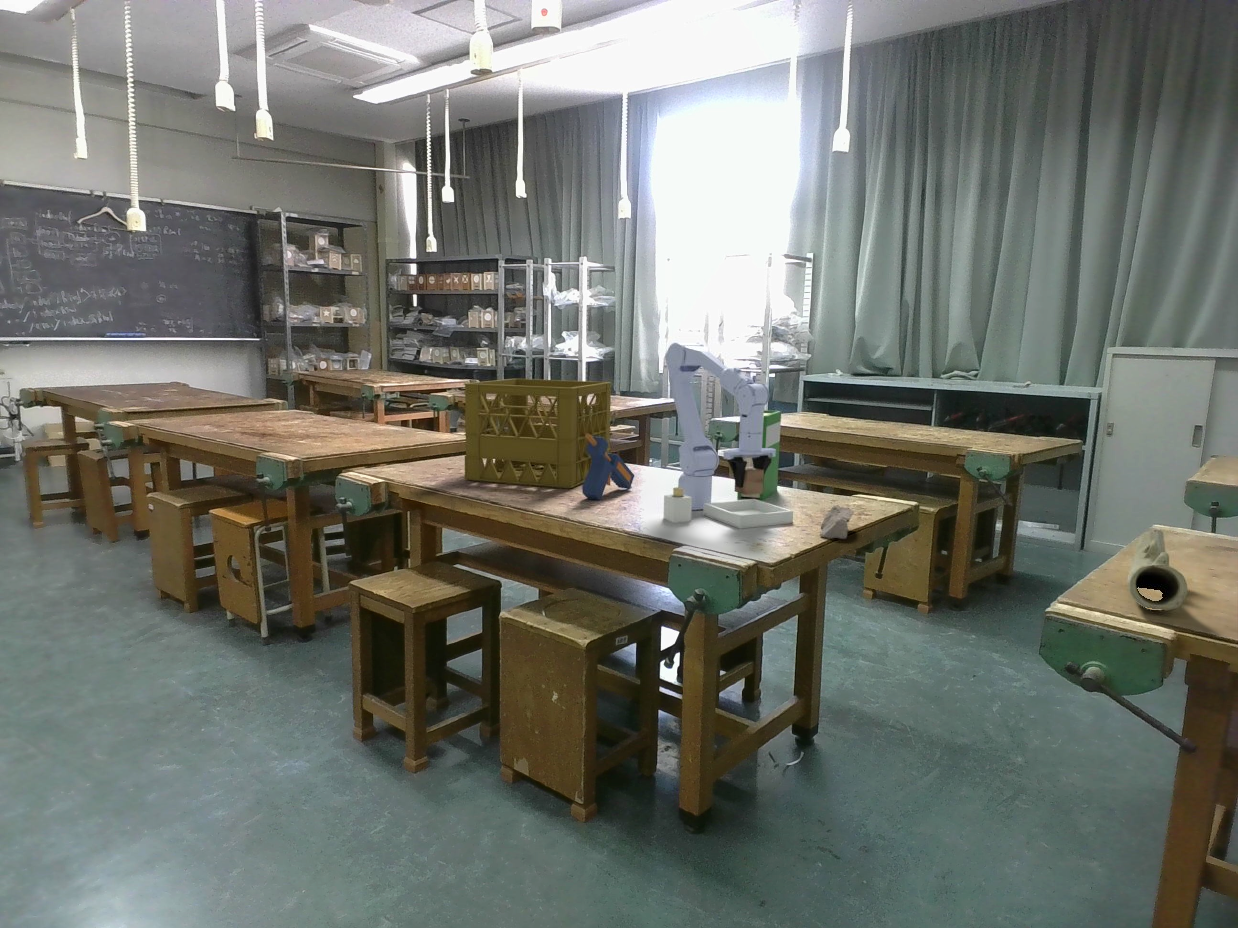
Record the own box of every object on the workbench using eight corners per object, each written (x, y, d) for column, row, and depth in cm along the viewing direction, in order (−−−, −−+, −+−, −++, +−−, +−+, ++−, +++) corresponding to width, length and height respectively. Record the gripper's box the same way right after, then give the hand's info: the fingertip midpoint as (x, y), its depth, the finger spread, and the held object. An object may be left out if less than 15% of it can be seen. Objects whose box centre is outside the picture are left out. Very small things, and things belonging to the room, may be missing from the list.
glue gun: (623, 525, 233) (639, 481, 238) (586, 478, 207) (604, 429, 213) (605, 522, 235) (621, 478, 241) (566, 475, 210) (585, 427, 216)
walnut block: (734, 491, 200) (735, 467, 199) (750, 489, 202) (751, 466, 201) (746, 494, 195) (747, 470, 194) (762, 493, 197) (763, 469, 196)
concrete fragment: (814, 538, 183) (816, 512, 182) (827, 525, 195) (828, 501, 194) (845, 541, 180) (847, 515, 179) (856, 528, 192) (858, 504, 191)
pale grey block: (663, 518, 198) (664, 487, 197) (680, 516, 201) (681, 485, 199) (673, 522, 194) (674, 490, 193) (691, 521, 196) (692, 489, 195)
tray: (703, 514, 203) (703, 503, 203) (753, 509, 210) (754, 498, 210) (739, 528, 189) (740, 516, 189) (792, 522, 196) (793, 511, 196)
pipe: (1185, 620, 132) (1193, 562, 130) (1126, 612, 135) (1133, 555, 134) (1157, 576, 157) (1164, 527, 155) (1108, 570, 160) (1114, 522, 159)
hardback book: (762, 501, 222) (767, 416, 218) (737, 498, 225) (741, 414, 221) (777, 490, 238) (781, 411, 234) (752, 488, 241) (756, 409, 237)
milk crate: (464, 481, 244) (463, 383, 239) (514, 464, 277) (514, 378, 272) (571, 490, 233) (572, 388, 228) (610, 471, 266) (612, 382, 261)
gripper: (736, 435, 189) (733, 491, 192) (784, 433, 196) (781, 487, 198) (719, 432, 196) (717, 485, 198) (767, 430, 202) (764, 482, 204)
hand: (748, 486), depth 198 cm, fingers closed on walnut block, 5 cm apart
